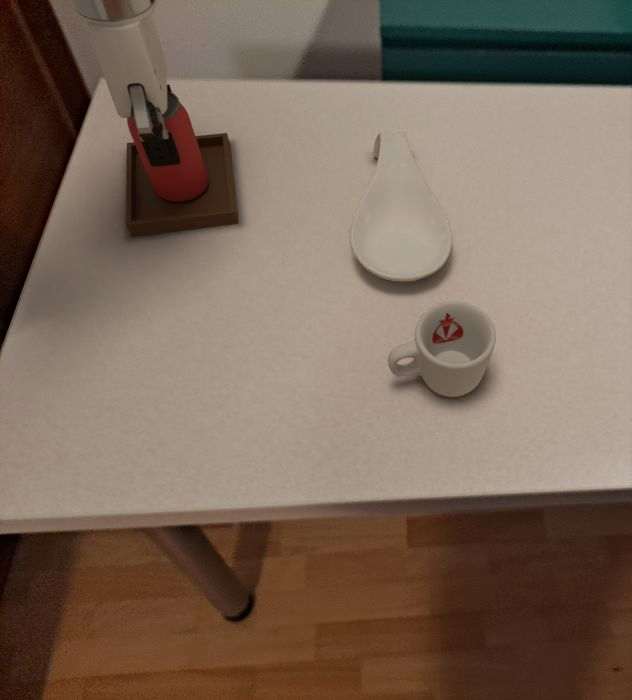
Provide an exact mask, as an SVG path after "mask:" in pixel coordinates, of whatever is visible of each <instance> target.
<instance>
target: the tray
mask: <svg viewBox="0 0 632 700" xmlns="http://www.w3.org/2000/svg"><path fill="white" fill-rule="evenodd" d="M195 137H196V140H197V143H198V146H199V149H200V152H201V155H202V159H203V162H204V165H205V168H206V171H207V174H208V177H209V181H208V186H207V188H206V189H205V191H204V192H203V193H202V194H201V195H200V196H198V197H196V198H194V199H192V200H189V201H185V202H172V201H167V200H165V199H163V198H161V197H159V196H158V195H157V193H156V192H155V191H154V189H153V186H152V184H151V182H150V179H149V177H148V174H147V172H146V170H145V167H144V165H143V162H142V160H141V158H140V155H139V153H138V150H137V148H136V145H135V143H134V141H132V142H126V169H125V170H126V174H125V175H126V179H125V181H126V184H125V191H126V192H125V197H126V198H125V202H126V203H125V226H126V228H127V230H128V232H129V235H130V236H131V238H133V237H140V236H148V235H149V236H151V235H158V234H164V233H173V232H180V231H189V230H196V229H204V228H213V227H221V226H227V225H236V224H237V225H238V224H239V215H238V206H237V197H236V188H235V177H234V169H233V167H234V166H233V160H232V149H231V143H230V139H229V135H228V133H227V132H221V133H220V132H219V133H212V134H201V135H195Z"/></svg>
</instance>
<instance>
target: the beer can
mask: <svg viewBox="0 0 632 700" xmlns="http://www.w3.org/2000/svg"><path fill="white" fill-rule="evenodd" d="M148 108H149V109H151V108H156V107H155V106H154V105H153V104H152V103H151V102H149V103H148ZM164 118H165V122H166V126H167V130H168V133H172V136H173V139H174V142H175V144H176V147H177V150H178V153H179V156H180V160H181V163H180V164H178V165H168V166H159V167H152V166H151V165H150V163H149V160H148V158H147V155H146V153H145V150H144V148H143V145H142V143H141V140H140V137H139V133H138V130H137V126H136V122H135V118H134V115H133V111H132V107H131V116H130V117H126V123H127V124H126V125H127V128H128V131H129V133H130V135H131V138H132V142H134V143H135V145H136V148H137V150H138V153H139V155H140V158H141V160H142V162H143V165H144V167H145V170H146V172H147V174H148V177H149V179H150V182H151V184H152V186H153V189H154V191H155V192H156V193H157V195H158V196H159V197H161V198H163V199H165V200H167V201H172V202H185V201H189V200H192V199H194V198H196V197H198V196H200V195H201V194H202V193H203V192H204V191H205V189H206V188H207V186H208V181H209V177H208V174H207V171H206V168H205V165H204V162H203V159H202V155H201V152H200V149H199V146H198V143H197V140H196V137H195V136H196V133H195V131H194V127H193V124H192V121H191V118H190V115H189V112H188V110H187V109H186V108H185V106H184V105H183V104H182V103H181V102H180V99H179V97H178V96H177V95H176V94H175V93H174V92H172V93H171V92H169V91H167V110H166V112H165V113H164ZM150 119H151V122H152V124H153V126H157V127H159V128H160V126H159V123H158V119H157V115H154V116H150Z"/></svg>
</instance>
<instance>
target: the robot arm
mask: <svg viewBox="0 0 632 700" xmlns="http://www.w3.org/2000/svg"><path fill="white" fill-rule="evenodd" d="M69 1H70V4H71V6H72V9H73V11H74V13H75V15H76V16H77V17H78V18H80V20H82V21H83V22H85V23H86V24H88V31H89V34H90V37H91V41H92V45H93V48H94V51H95V54H96V57H97V60H98V64H99V66H100V69H101V71H102V75H103V77H104V81H105V84H106V86H107V89H108V91H109V93H110V97H111V100H112V102H113V105H114V107H115V111H116V114H117V115H118V116H119V117H120V118H122V119H127V117H130V116H131V107H132V111H133V115H134V118H135V122H136V126H137V130H138V133H139V137H140V140H141V143H142V145H143V148H144V150H145V153H146V155H147V158H148V160H149V163H150V165H151V166H152V167H159V166H168V165H178V164H180V163H181V160H180V156H179V153H178V150H177V147H176V144H175V142H174V139H173V136H172V133H168V130H167V126H166V122H165V118H164V113H165V112H166V110H167V91H169V92H171V93H173V90H172V88H171V85H170V84H168V78H167V65H166V58H165V54H164V50H163V47H162V43H161V40H160V36H159V33H158V30H157V26H156V24H155V21H154V18H153V14H152V13H154V11H155V10H156V9H157V6H158V3H159V1H158V0H69ZM149 102H151V103H152V104H153V105H154V106H155V107H156V108H151V109H149V108H148V103H149ZM154 115H157V119H158V123H159V126H160V128H159V127H157V126H153V124H152V122H151V119H150V116H154Z"/></svg>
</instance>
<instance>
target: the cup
mask: <svg viewBox="0 0 632 700" xmlns="http://www.w3.org/2000/svg"><path fill="white" fill-rule="evenodd" d="M496 342H497V332H496V328H495V325H494V323H493V321H492V319H491V318H490V317H489V316H488V314H487V313H486V312H485V311H483V310H482V309H481V308H480V307H477V306H476V305H474V304H471V303H468V302H464V301H458V300H450V301H444V302H441V303H440V302H439V303H437V304H434V305H433V306H431V307H429V308H428V309H427V310H426V311H425V312H423V313H422V315H420V318H419V319H418V321H417V323H416V326H415V331H414V339H413V340H412V341H410V342H406V343H401V344H399V345H397V346H396V347H394V348H392V349H391V350H390V351H389V353H388V355H387V366H388V368H389V371H390V372H391V374H392V375H394V376H395V377H401V378H405V377H411V376H416V375H417V376H418V375H420V376H421V378H422V379H423V381H424V383H425V384H426V386H427V387H428V388H429V389H430V390H431V391H433V392H434V393H436V394H437V395H440V396H444V397H448V398H457V397H461V396H462V397H463V396H465V395H467V394H469V393H471V392H472V391H473V390H474V389H475V388H476V387H477V386H478V385H479V384H480V382H481V381H482V378H483V377H484V374H485V372H486V369H487V367H488V364H489V362H490V359H491V357H492V354H493V352H494V350H495V346H496ZM409 358H411V359H412V360H411V361H410V362H408V363H404V364H398V362H400V361H401V360H403V359H404V360H405V359H409Z"/></svg>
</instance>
